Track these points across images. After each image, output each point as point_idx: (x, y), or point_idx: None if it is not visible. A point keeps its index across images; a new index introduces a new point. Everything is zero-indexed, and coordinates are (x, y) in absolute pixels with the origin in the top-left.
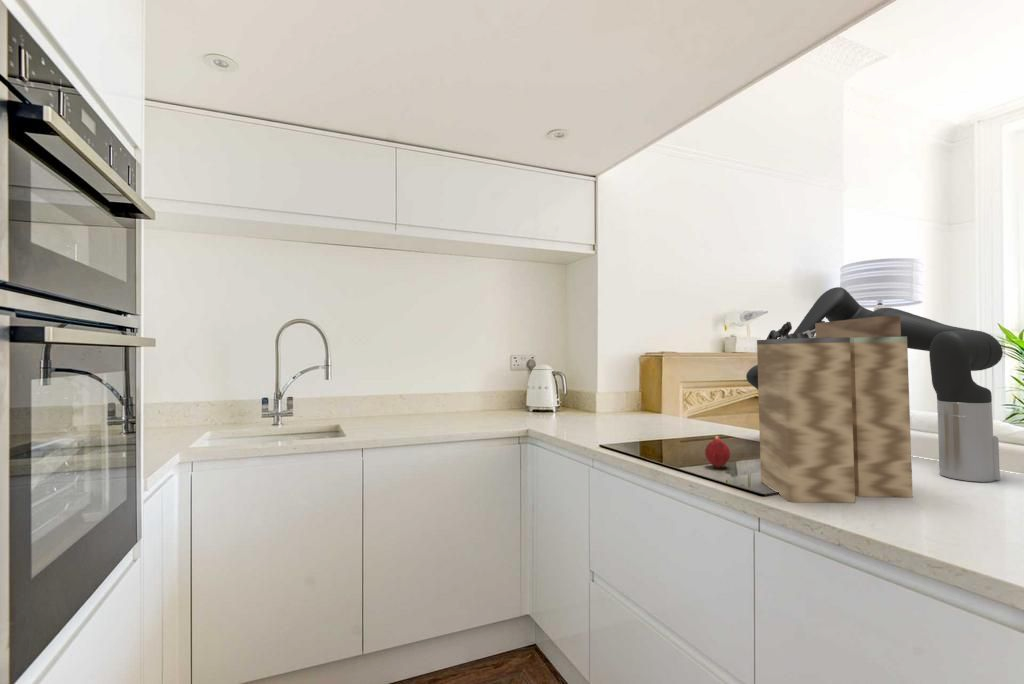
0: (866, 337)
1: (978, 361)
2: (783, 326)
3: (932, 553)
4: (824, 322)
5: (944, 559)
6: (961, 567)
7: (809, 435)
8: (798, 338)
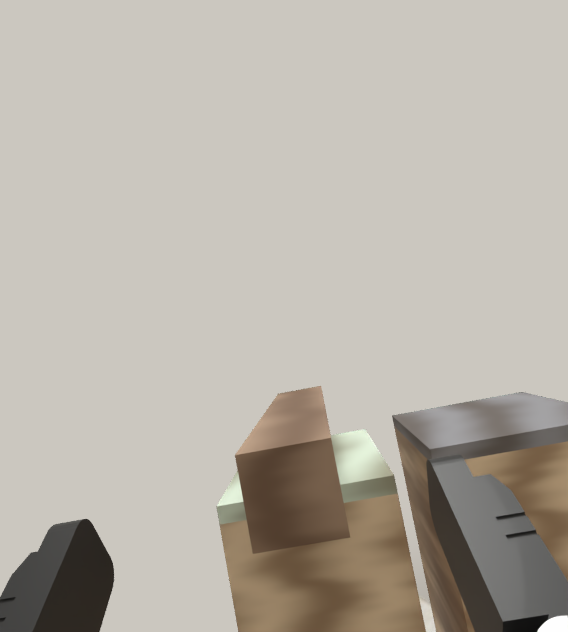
0: (337, 434)
1: None
2: (516, 512)
3: (430, 614)
4: (327, 421)
5: (425, 606)
6: (419, 597)
7: None
8: (494, 397)
